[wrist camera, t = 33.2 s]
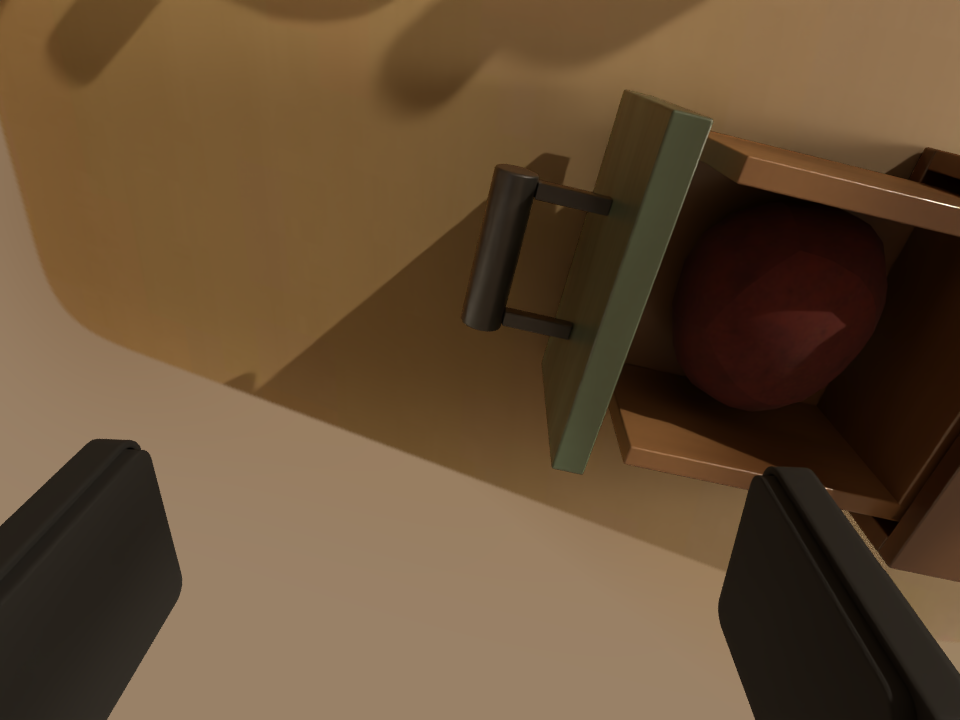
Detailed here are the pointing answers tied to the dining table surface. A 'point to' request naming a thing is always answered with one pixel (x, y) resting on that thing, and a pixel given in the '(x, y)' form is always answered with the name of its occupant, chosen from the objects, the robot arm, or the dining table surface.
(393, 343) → the dining table surface
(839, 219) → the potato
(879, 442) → the drawer
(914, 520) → the cabinet
